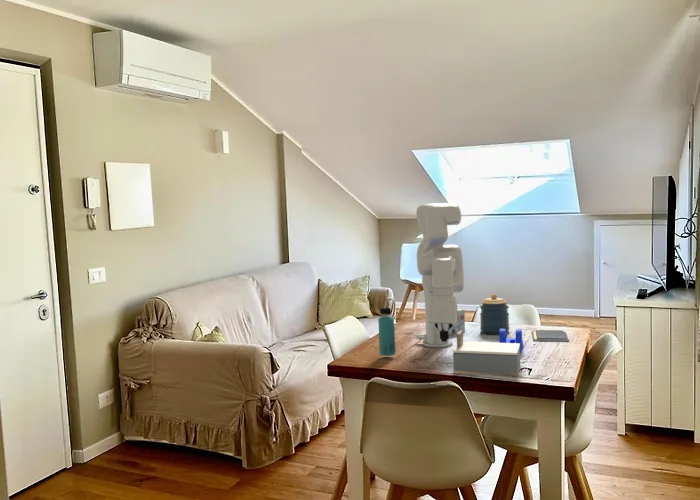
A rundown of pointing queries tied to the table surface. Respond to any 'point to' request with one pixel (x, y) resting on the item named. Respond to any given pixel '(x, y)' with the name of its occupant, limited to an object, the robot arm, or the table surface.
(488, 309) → the canister
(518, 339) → the bracket
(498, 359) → the grey tray
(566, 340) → the wallet
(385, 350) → the beverage bottle
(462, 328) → the light bulb box
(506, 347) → the lid
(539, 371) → the table surface
